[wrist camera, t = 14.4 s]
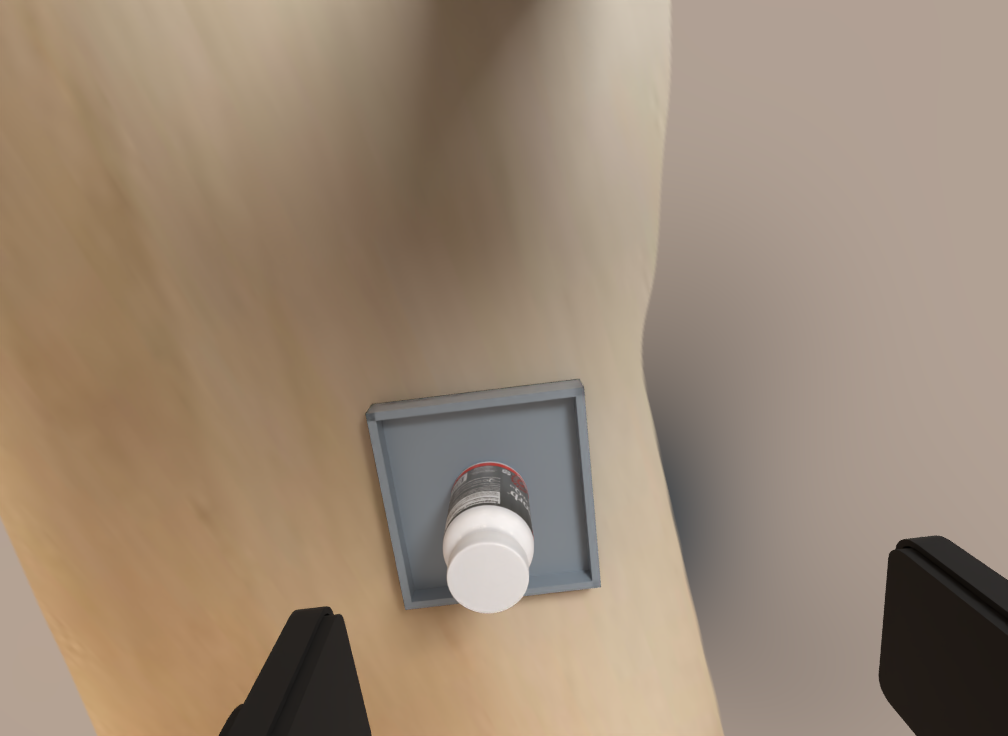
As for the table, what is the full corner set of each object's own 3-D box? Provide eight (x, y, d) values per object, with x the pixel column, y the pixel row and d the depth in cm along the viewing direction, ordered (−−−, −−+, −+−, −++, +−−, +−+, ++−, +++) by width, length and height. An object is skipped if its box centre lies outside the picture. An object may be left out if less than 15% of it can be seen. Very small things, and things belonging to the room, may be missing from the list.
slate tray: (372, 404, 37) (365, 413, 35) (579, 378, 37) (583, 387, 35) (409, 592, 42) (405, 609, 40) (596, 570, 41) (601, 587, 39)
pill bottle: (537, 515, 39) (550, 608, 30) (465, 535, 40) (455, 634, 30) (515, 448, 38) (522, 523, 28) (441, 470, 38) (423, 551, 29)
